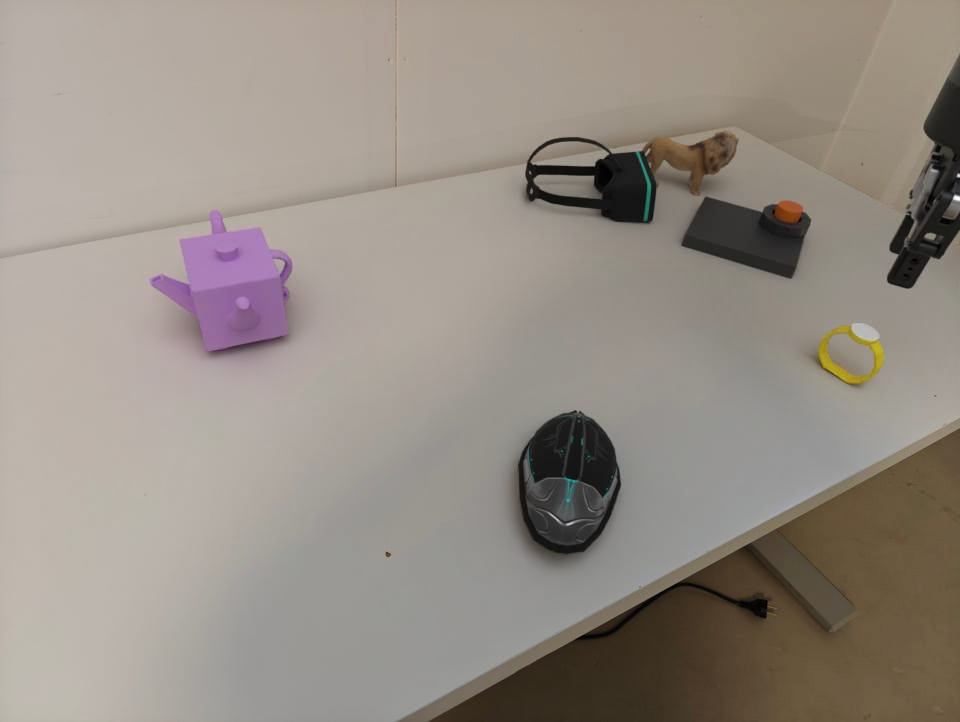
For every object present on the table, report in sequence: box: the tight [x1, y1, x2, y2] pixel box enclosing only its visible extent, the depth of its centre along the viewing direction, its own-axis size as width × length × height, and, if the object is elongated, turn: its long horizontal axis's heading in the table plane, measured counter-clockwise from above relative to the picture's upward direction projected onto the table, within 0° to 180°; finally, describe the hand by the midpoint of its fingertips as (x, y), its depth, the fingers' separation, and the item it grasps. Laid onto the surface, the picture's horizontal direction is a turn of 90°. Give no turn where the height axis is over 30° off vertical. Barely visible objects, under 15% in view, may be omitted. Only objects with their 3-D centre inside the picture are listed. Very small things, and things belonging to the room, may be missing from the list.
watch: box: [817, 322, 885, 385], centre depth 71 cm, size 6×3×6 cm, turn 40°
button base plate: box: [681, 196, 812, 280], centre depth 91 cm, size 14×13×4 cm
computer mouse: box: [517, 409, 622, 555], centre depth 57 cm, size 9×17×6 cm, turn 168°
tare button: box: [774, 199, 804, 223], centre depth 90 cm, size 3×3×2 cm
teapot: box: [149, 209, 293, 352], centre depth 68 cm, size 18×13×10 cm
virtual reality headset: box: [524, 136, 658, 222], centre depth 94 cm, size 11×17×10 cm, turn 89°
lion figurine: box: [641, 130, 740, 197], centre depth 100 cm, size 15×5×9 cm, turn 79°
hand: (899, 267), depth 64 cm, fingers open, 5 cm apart
